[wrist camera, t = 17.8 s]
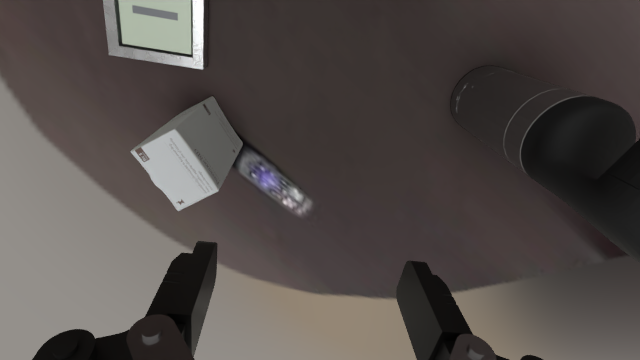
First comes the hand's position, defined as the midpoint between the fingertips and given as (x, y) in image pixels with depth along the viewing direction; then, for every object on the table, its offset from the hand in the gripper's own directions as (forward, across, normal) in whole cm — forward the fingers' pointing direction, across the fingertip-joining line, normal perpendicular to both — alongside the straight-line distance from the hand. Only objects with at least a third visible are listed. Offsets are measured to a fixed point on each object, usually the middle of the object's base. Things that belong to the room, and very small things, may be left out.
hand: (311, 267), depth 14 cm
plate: (+35, +18, -6) cm, 40 cm away
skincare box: (+36, +12, +8) cm, 39 cm away
